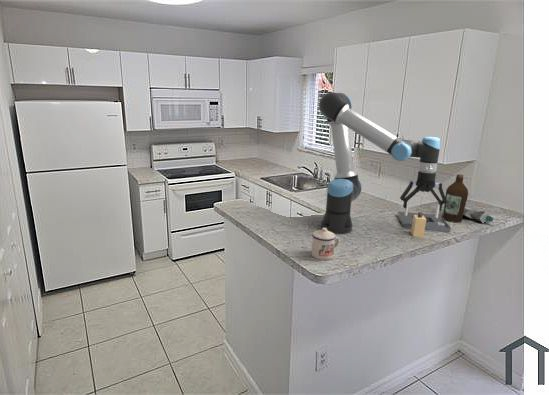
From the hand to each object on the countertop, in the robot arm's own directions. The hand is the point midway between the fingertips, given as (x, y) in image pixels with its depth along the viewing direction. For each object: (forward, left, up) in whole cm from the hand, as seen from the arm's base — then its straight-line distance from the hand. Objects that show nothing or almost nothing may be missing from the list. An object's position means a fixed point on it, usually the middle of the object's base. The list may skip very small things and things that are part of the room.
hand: (420, 216), depth 166 cm
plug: (0, 0, -10) cm, 10 cm away
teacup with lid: (-42, -35, -10) cm, 56 cm away
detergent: (+34, +35, -10) cm, 50 cm away
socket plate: (+6, +18, -10) cm, 21 cm away
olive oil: (+24, +30, -10) cm, 39 cm away
